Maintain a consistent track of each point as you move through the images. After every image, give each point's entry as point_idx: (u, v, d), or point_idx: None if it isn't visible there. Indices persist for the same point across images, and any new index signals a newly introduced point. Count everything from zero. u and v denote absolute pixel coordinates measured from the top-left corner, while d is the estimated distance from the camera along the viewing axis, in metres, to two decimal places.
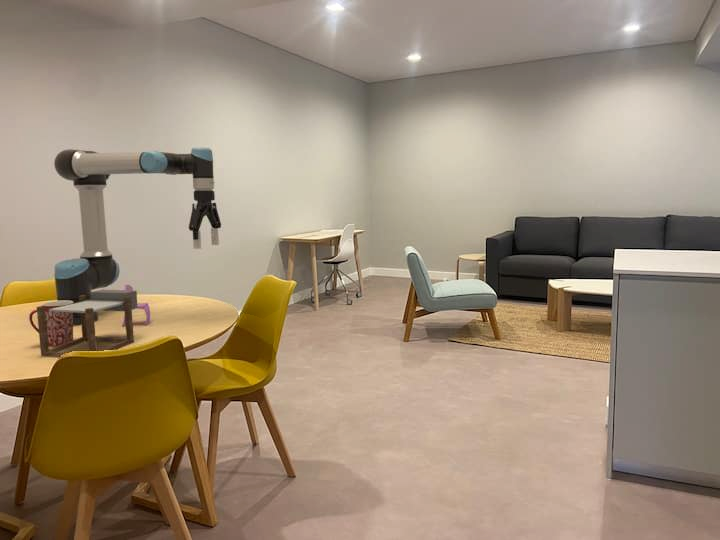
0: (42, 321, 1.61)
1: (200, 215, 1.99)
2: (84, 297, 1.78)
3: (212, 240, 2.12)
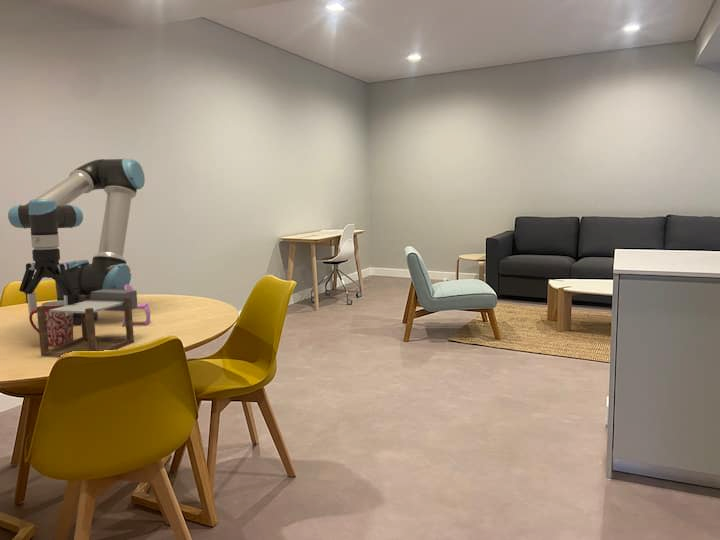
0: (42, 321, 1.61)
1: None
2: (84, 297, 1.78)
3: None
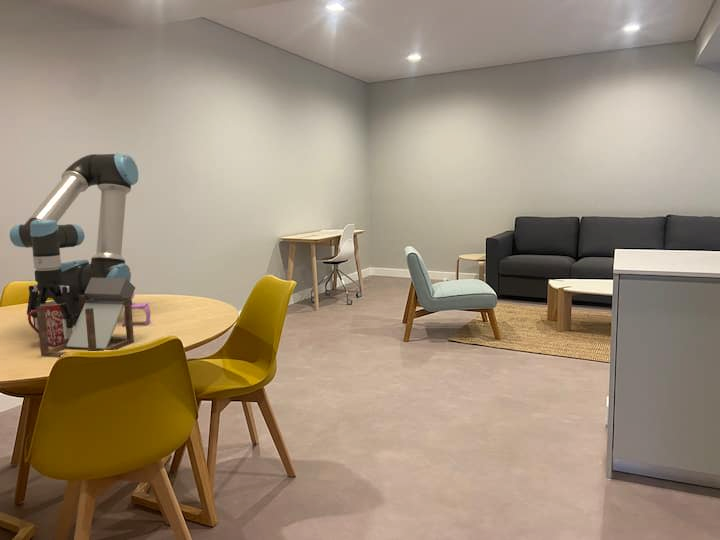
0: (42, 321, 1.61)
1: None
2: (84, 297, 1.78)
3: None
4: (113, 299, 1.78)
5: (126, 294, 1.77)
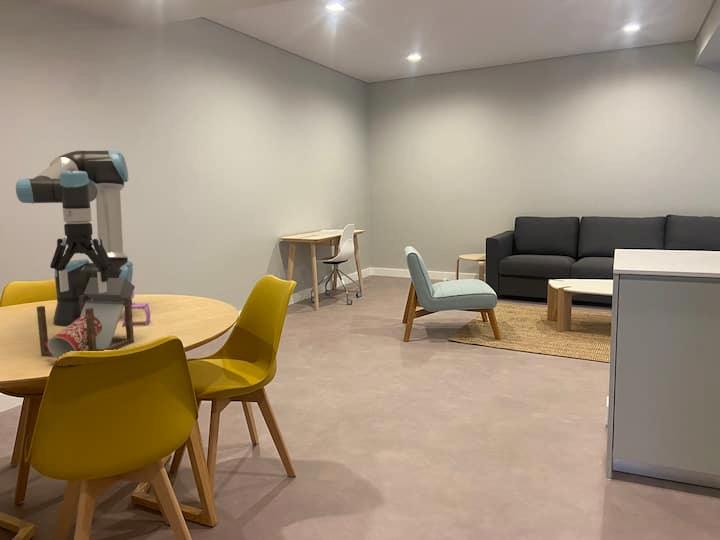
0: (42, 321, 1.61)
1: None
2: (84, 297, 1.78)
3: None
4: (113, 299, 1.78)
5: (126, 294, 1.77)
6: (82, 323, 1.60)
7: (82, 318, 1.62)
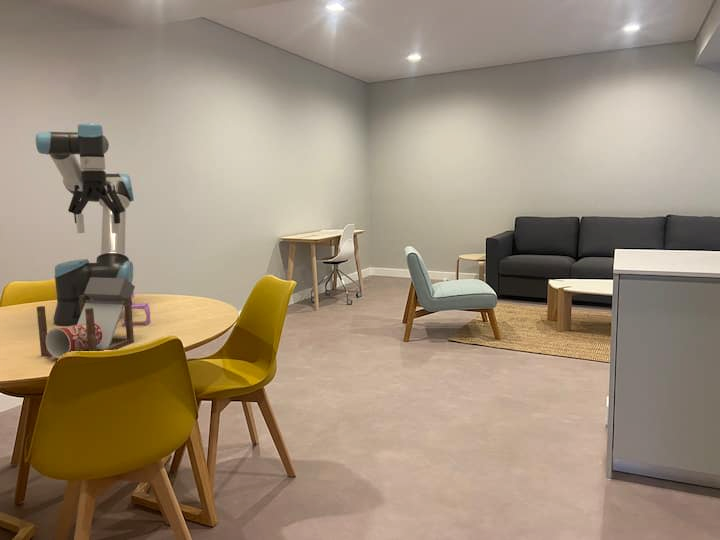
0: (42, 321, 1.61)
1: None
2: (84, 297, 1.78)
3: None
4: (113, 299, 1.78)
5: (126, 294, 1.77)
6: (81, 325, 1.64)
7: None
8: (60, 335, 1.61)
